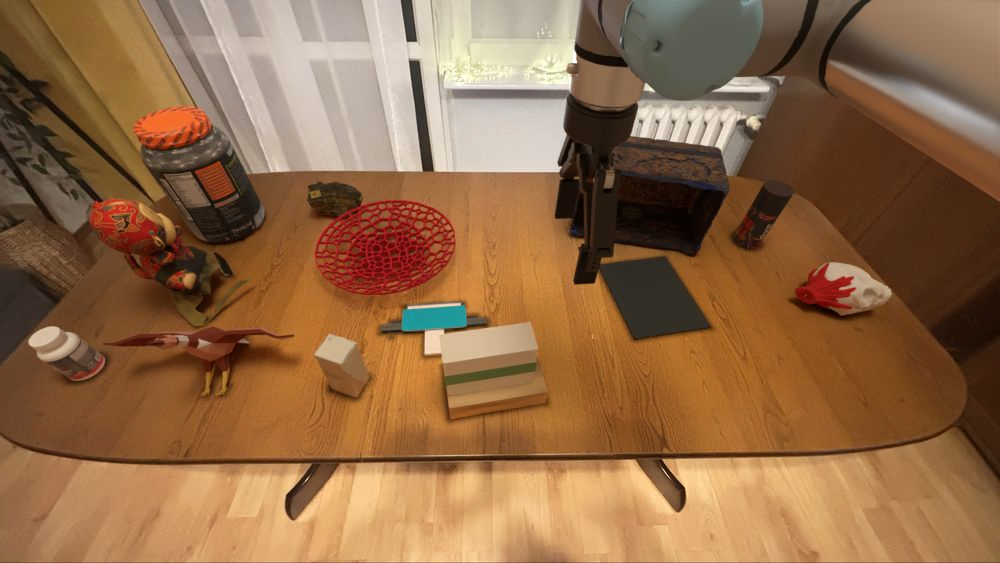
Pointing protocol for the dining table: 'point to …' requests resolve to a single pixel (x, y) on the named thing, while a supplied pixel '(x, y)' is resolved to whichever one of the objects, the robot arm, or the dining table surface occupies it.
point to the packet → (488, 358)
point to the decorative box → (664, 193)
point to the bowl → (385, 249)
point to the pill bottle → (67, 353)
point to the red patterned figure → (160, 253)
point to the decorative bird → (201, 346)
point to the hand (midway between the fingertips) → (572, 247)
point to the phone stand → (433, 322)
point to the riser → (500, 398)
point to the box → (342, 365)
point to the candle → (843, 289)
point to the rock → (334, 198)
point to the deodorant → (763, 214)
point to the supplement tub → (199, 173)
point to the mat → (652, 298)
